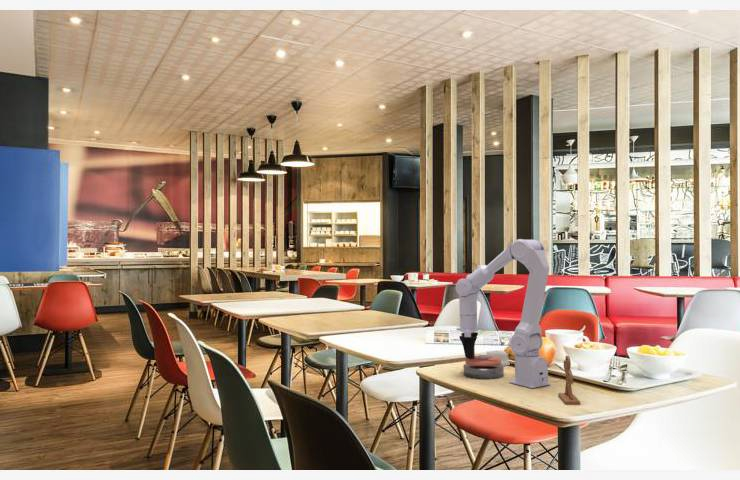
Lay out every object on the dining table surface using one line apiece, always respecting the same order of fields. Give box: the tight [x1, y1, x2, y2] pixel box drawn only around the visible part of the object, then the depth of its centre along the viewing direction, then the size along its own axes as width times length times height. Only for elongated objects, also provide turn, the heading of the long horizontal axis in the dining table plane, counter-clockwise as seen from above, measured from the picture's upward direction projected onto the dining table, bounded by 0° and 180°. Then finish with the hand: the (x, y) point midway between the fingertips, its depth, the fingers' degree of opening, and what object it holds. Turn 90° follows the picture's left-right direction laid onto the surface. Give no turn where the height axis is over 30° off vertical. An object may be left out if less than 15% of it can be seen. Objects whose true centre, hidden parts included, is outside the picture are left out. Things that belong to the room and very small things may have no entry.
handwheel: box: [464, 347, 501, 366], centre depth 184 cm, size 12×12×6 cm
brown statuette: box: [557, 355, 581, 406], centre depth 150 cm, size 9×4×12 cm, turn 173°
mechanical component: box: [486, 350, 510, 367], centre depth 203 cm, size 10×4×10 cm
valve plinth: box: [462, 363, 505, 380], centre depth 184 cm, size 13×13×3 cm
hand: (469, 356), depth 185 cm, fingers open, 6 cm apart
